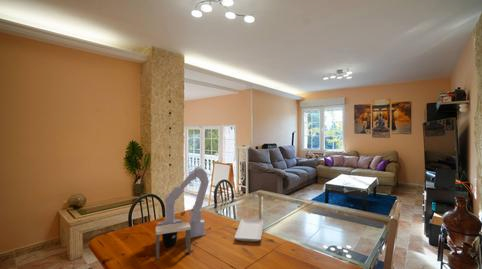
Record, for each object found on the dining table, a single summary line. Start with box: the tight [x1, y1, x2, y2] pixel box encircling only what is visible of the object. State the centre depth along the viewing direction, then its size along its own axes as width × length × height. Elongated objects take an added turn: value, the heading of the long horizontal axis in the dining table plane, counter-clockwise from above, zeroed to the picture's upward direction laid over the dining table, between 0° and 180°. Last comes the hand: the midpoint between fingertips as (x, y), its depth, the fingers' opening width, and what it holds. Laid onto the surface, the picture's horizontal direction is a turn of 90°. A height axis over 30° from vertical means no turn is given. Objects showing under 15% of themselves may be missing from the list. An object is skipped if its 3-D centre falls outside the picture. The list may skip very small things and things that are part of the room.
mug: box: [161, 231, 179, 248], centre depth 137 cm, size 12×9×10 cm
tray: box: [233, 218, 264, 242], centre depth 153 cm, size 17×32×4 cm, turn 171°
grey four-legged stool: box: [155, 221, 192, 260], centre depth 127 cm, size 18×8×14 cm, turn 113°
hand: (170, 235), depth 144 cm, fingers closed
